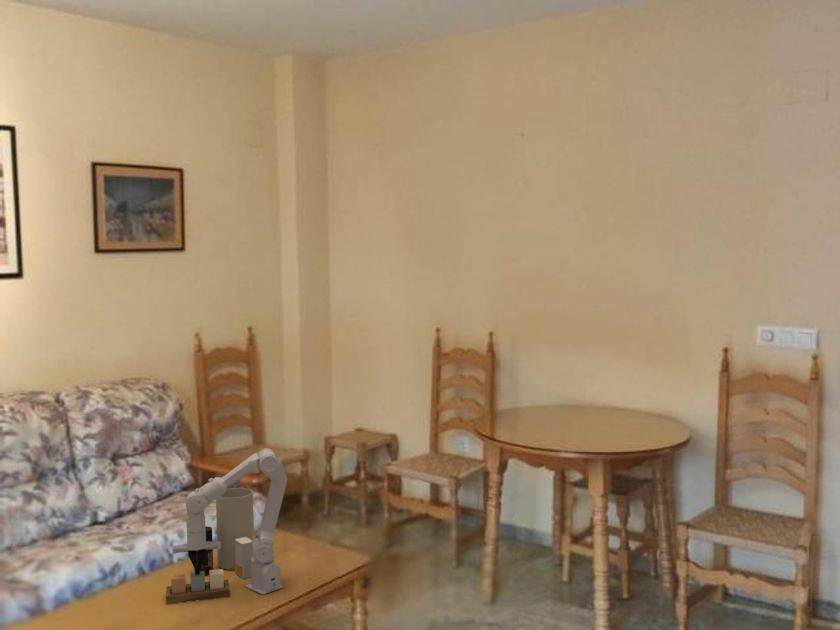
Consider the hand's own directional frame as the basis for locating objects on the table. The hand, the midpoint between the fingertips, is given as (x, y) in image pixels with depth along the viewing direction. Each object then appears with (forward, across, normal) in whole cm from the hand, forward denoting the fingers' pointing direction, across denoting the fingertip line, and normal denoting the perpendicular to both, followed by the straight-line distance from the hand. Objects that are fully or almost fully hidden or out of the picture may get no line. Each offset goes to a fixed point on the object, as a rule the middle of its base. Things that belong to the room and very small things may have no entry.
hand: (197, 573), depth 258 cm
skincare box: (+7, -15, -12) cm, 21 cm away
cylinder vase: (+7, -13, -24) cm, 28 cm away
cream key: (+5, -6, 0) cm, 8 cm away
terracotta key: (+5, +6, 0) cm, 8 cm away
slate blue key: (+5, 0, 0) cm, 5 cm away
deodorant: (+7, -2, -19) cm, 20 cm away
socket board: (+7, 0, 0) cm, 7 cm away
